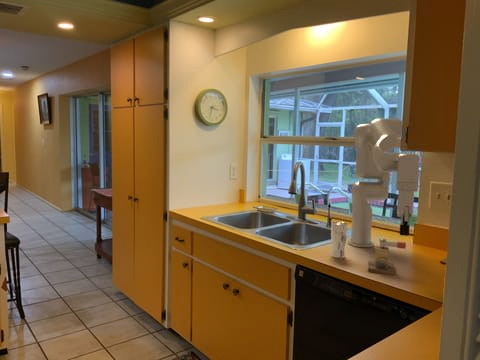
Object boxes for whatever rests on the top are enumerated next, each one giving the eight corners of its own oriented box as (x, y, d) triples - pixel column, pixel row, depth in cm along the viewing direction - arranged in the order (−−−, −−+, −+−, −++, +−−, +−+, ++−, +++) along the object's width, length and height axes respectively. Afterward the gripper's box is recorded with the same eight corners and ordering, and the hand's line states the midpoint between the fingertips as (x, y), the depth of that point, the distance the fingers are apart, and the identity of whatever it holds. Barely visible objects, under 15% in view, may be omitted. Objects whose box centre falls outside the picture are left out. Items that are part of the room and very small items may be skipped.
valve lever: (379, 248, 156) (379, 239, 155) (378, 246, 158) (379, 238, 158) (405, 250, 152) (406, 242, 152) (404, 249, 155) (405, 240, 155)
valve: (368, 264, 164) (369, 243, 163) (393, 267, 160) (395, 245, 160) (367, 271, 154) (369, 249, 153) (395, 275, 151) (396, 252, 150)
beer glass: (334, 252, 179) (335, 220, 178) (348, 255, 175) (350, 223, 173) (327, 256, 174) (328, 223, 172) (341, 259, 170) (343, 225, 168)
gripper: (395, 184, 153) (392, 230, 155) (397, 188, 139) (394, 238, 141) (415, 185, 151) (413, 232, 153) (420, 189, 137) (417, 240, 138)
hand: (404, 235), depth 147 cm, fingers closed
